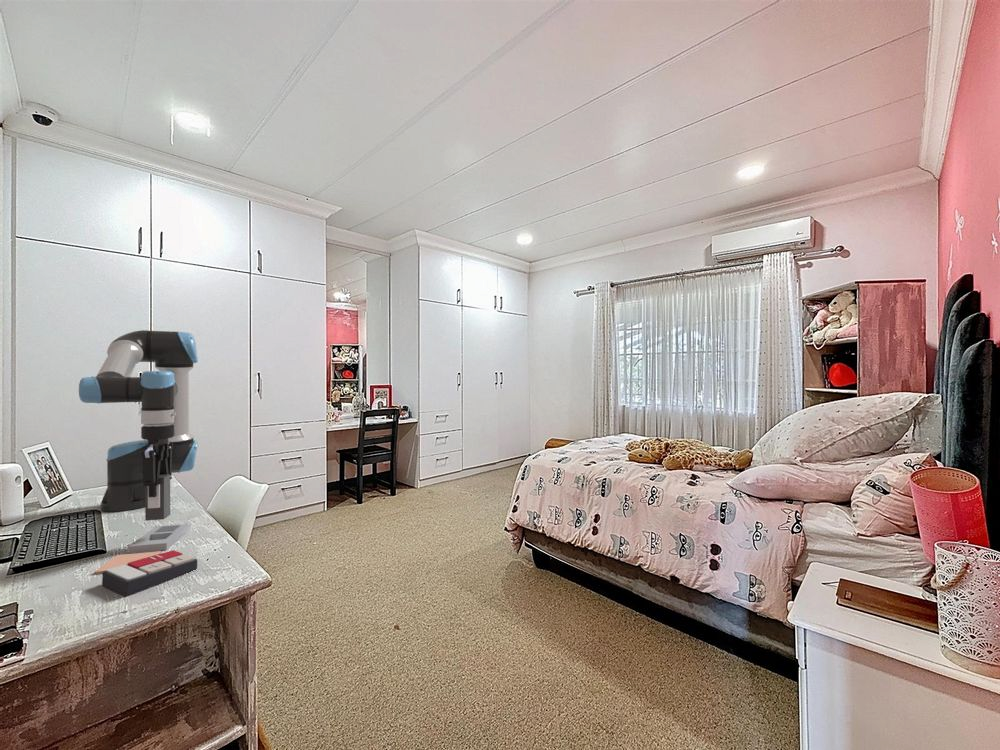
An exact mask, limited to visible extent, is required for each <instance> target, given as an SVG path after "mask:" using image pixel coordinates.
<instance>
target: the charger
mask: <svg viewBox="0 0 1000 750" xmlns="http://www.w3.org/2000/svg"><path fill="white" fill-rule="evenodd" d="M159 484H160V508H148V486H145V508H144V509H145V511H144V512H145V513H144V515H145V517H144V518H145V519H144V521H146V522H149V521H157V520H158V521H160V520H162V521H163V520H165V519H166V518H168V517H169V516H171V479H170V474H166V475H159Z"/></svg>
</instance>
